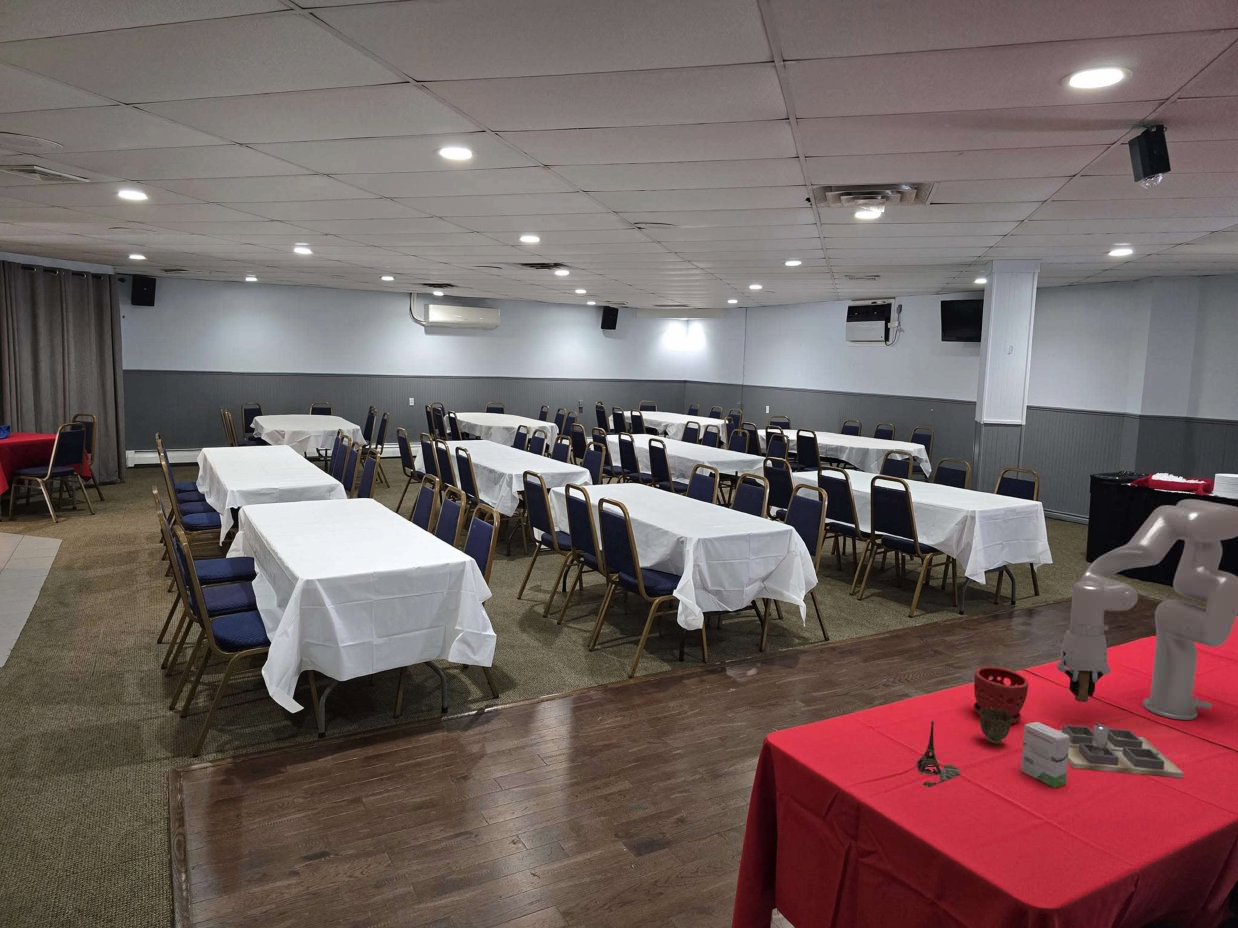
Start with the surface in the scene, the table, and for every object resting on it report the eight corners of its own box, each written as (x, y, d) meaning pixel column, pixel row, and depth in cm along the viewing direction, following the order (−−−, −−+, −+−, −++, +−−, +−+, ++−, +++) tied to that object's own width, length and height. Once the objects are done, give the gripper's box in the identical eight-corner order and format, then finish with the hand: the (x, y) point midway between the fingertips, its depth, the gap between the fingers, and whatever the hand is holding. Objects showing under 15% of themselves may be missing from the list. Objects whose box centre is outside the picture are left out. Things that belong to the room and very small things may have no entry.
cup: (1013, 751, 194) (1016, 720, 193) (981, 747, 196) (984, 717, 195) (1005, 737, 202) (1007, 708, 201) (974, 734, 203) (976, 704, 202)
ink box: (1067, 784, 179) (1072, 735, 178) (1053, 788, 177) (1057, 739, 176) (1033, 766, 187) (1037, 719, 186) (1019, 770, 185) (1023, 723, 183)
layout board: (1143, 741, 201) (1147, 707, 200) (1183, 777, 183) (1187, 740, 182) (1044, 733, 204) (1047, 699, 203) (1073, 767, 187) (1076, 731, 186)
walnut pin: (1084, 697, 211) (1086, 669, 210) (1089, 702, 208) (1091, 673, 207) (1072, 696, 212) (1074, 668, 211) (1077, 701, 209) (1079, 673, 208)
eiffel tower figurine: (928, 790, 176) (932, 734, 175) (891, 770, 185) (895, 716, 183) (969, 773, 184) (973, 719, 182) (932, 755, 193) (936, 703, 191)
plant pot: (972, 722, 210) (976, 679, 208) (970, 703, 222) (974, 663, 220) (1027, 731, 205) (1031, 688, 204) (1022, 711, 217) (1025, 670, 216)
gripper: (1113, 624, 210) (1108, 689, 212) (1048, 622, 212) (1043, 686, 215) (1126, 634, 202) (1121, 701, 205) (1059, 631, 205) (1054, 698, 207)
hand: (1081, 693), depth 210 cm, fingers closed on walnut pin, 3 cm apart
